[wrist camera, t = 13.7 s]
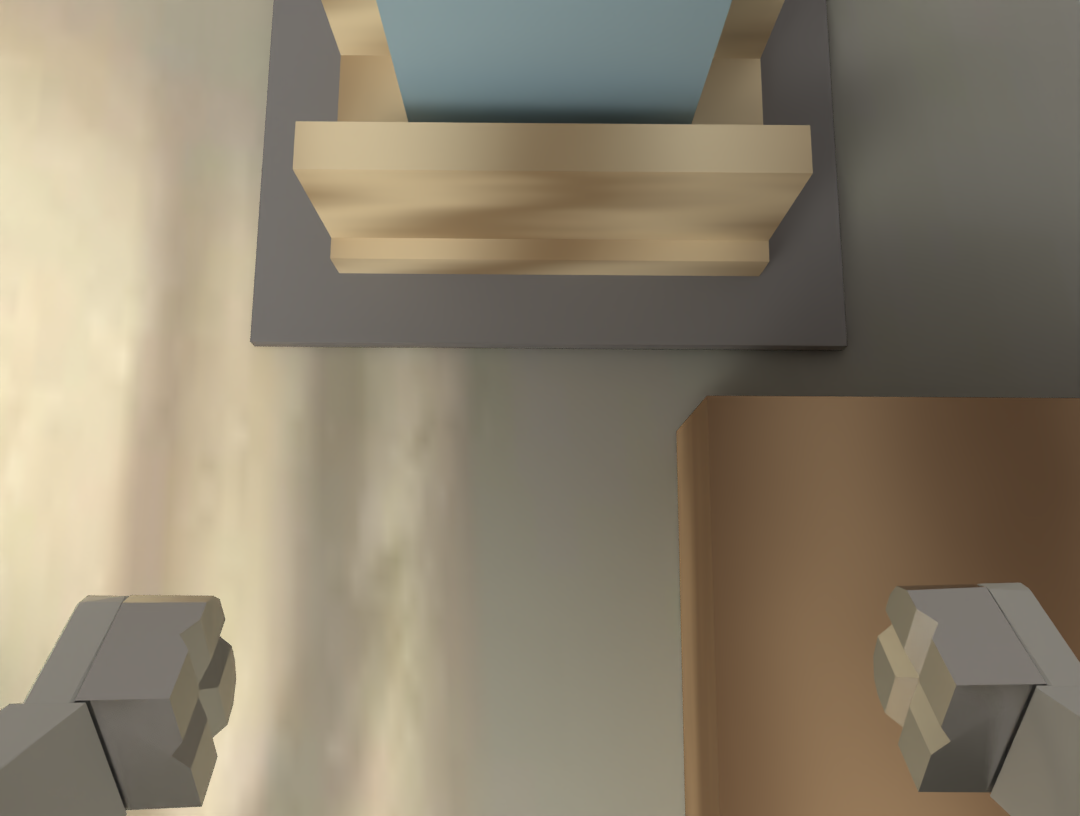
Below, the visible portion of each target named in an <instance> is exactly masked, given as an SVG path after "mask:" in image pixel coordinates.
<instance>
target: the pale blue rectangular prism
mask: <svg viewBox="0 0 1080 816" xmlns="http://www.w3.org/2000/svg"><path fill="white" fill-rule="evenodd" d="M376 2H377V6H378V9H379V13H380V17H381V21H382V24H383V28H384V32H385V36H386V39H387V43H388V47H389V51H390V55H391V58H392V62H393V66H394V70H395V73H396V77H397V81H398V85H399V88H400V92H401V96H402V100H403V103H404V107H405V111H406V115H407V119H408V122H453V123H581V124H691V123H692V120H693V117H694V114H695V111H696V108H697V105H698V102H699V99H700V96H701V93H702V90H703V87H704V84H705V81H706V78H707V75H708V72H709V69H710V66H711V63H712V60H713V57H714V54H715V51H716V48H717V45H718V42H719V39H720V36H721V33H722V30H723V26H724V23H725V20H726V17H727V14H728V11H729V8H730V5H731V2H732V0H376Z"/></svg>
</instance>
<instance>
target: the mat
mask: <svg viewBox="0 0 1080 816" xmlns="http://www.w3.org/2000/svg"><path fill="white" fill-rule="evenodd" d="M340 62H341V54H340V51H339V49H338V46H337V43H336V40H335V37H334V35H333V32H332V29H331V26H330V23H329V21H328V18H327V15H326V12H325V9H324V7H323V4H322V1H321V0H274V4H273V19H272V33H271V48H270V62H269V77H268V91H267V106H266V120H265V135H264V149H263V164H262V178H261V193H260V207H259V222H258V236H257V251H256V265H255V280H254V294H253V309H252V323H251V338H250V342H251V343H252V344H253V345H254V346H294V347H441V348H588V349H735V350H843V349H844V348H845V347H846V346H847V334H846V318H845V301H844V285H843V268H842V252H841V236H840V219H839V203H838V187H837V170H836V154H835V138H834V121H833V105H832V88H831V72H830V56H829V39H828V23H827V7H826V0H785V1H784V3H783V6H782V8H781V10H780V13H779V15H778V18H777V20H776V22H775V25H774V27H773V30H772V32H771V34H770V37H769V39H768V41H767V44H766V46H765V49H764V51H763V53H762V56H761V58H760V62H761V85H762V107H763V125H810V131H811V149H812V167H813V174H812V175H811V177H810V178H809V180H808V181H807V183H806V184H805V186H804V187H803V189H802V190H801V192H800V194H799V195H798V197H797V198H796V200H795V201H794V203H793V204H792V206H791V207H790V209H789V210H788V212H787V213H786V215H785V216H784V218H783V219H782V221H781V223H780V224H779V226H778V227H777V229H776V230H775V232H774V233H773V235H772V236H771V238H770V239H769V263H768V264H767V266H766V267H765V269H764V270H763V272H762V273H761V274H760V276H652V275H512V274H372V273H339V272H338V270H337V269H336V267H335V265H334V264H333V262H332V261H331V259H330V253H331V236H330V234H329V233H328V231H327V229H326V227H325V226H324V224H323V222H322V220H321V218H320V217H319V215H318V213H317V211H316V210H315V208H314V206H313V204H312V203H311V201H310V199H309V197H308V195H307V194H306V192H305V190H304V188H303V187H302V185H301V183H300V181H299V180H298V178H297V176H296V174H295V172H294V171H293V155H294V139H295V123H296V121H325V122H337V120H338V100H339V81H340Z"/></svg>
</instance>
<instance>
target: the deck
mask: <svg viewBox="0 0 1080 816" xmlns="http://www.w3.org/2000/svg"><path fill="white" fill-rule="evenodd" d="M676 434H677V477H678V519H679V562H680V604H681V647H682V690H683V732H684V775H685V816H1010V815H1009V814H1008V813H1007V812H1006V811H1005V810H1004V809H1003V808H1002V807H1001V806H1000V805H999V804H998V803H997V802H996V801H995V800H994V799H992V798H991V797H990V794H991V793H989V792H918V790H917V788H916V785H915V783H914V781H913V778H912V776H911V774H910V771H909V769H908V767H907V764H906V762H905V760H904V757H903V755H902V753H901V750H900V748H899V746H898V742H899V738H900V735H901V732H902V729H903V727H902V726H901V725H899V724H898V723H897V722H896V721H894V720H893V719H892V718H891V717H889V716H888V715H887V714H886V713H885V712H884V710H883V707H882V705H881V702H880V699H879V697H878V694H877V690H876V685H875V681H874V666H873V655H874V651H875V646H876V642H877V638H878V636H879V635H880V634H881V633H882V632H883V631H885V630H886V629H887V628H888V627H889V626H890V625H892V623H891V621H890V619H889V616H888V614H887V612H886V610H885V609H886V606H887V602H888V599H889V596H890V593H891V592H892V591H893V590H894V588H895V587H896V586H913V585H956V584H975V585H978V584H985V583H1022V584H1023V585H1025V586H1026V587H1028V588H1029V589H1030V590H1031V592H1032V593H1033V595H1034V596H1035V598H1036V599H1037V600H1038V602H1039V603H1040V605H1041V606H1042V608H1043V609H1044V611H1045V612H1046V614H1047V615H1048V617H1049V618H1050V619H1051V621H1052V622H1053V624H1054V625H1055V627H1056V628H1057V630H1058V631H1059V633H1060V634H1061V636H1062V637H1063V639H1064V640H1065V641H1066V643H1067V644H1068V646H1069V647H1070V649H1071V650H1072V652H1073V653H1074V655H1075V656H1076V658H1077V659H1078V661H1079V662H1080V398H986V397H834V396H706V397H705V399H704V400H703V401H702V402H701V403H700V405H699V406H698V407H697V408H696V409H695V410H694V412H693V413H692V414H691V415H690V416H689V417H688V419H687V420H686V421H685V422H684V423H683V424H682V426H681V427H680V428H679V429H678V430H677V432H676Z"/></svg>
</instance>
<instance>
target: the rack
mask: <svg viewBox="0 0 1080 816" xmlns="http://www.w3.org/2000/svg"><path fill="white" fill-rule="evenodd" d="M321 1H322V4H323V7H324V9H325V12H326V15H327V18H328V21H329V23H330V26H331V29H332V32H333V35H334V37H335V40H336V43H337V46H338V49H339V51H340V54H341V62H340V81H339V100H338V120H337V122H325V121H296V123H295V139H294V155H293V171H294V172H295V174H296V176H297V178H298V180H299V181H300V183H301V185H302V187H303V188H304V190H305V192H306V194H307V195H308V197H309V199H310V201H311V203H312V204H313V206H314V208H315V210H316V211H317V213H318V215H319V217H320V218H321V220H322V222H323V224H324V226H325V227H326V229H327V231H328V233H329V234H330V236H331V253H330V259H331V261H332V262H333V264H334V265H335V267H336V269H337V270H338V272H339V273H372V274H512V275H652V276H760V274H761V273H762V272H763V270H764V269H765V267H766V266H767V264H768V263H769V239H770V238H771V236H772V235H773V233H774V232H775V230H776V229H777V227H778V226H779V224H780V223H781V221H782V219H783V218H784V216H785V215H786V213H787V212H788V210H789V209H790V207H791V206H792V204H793V203H794V201H795V200H796V198H797V197H798V195H799V194H800V192H801V190H802V189H803V187H804V186H805V184H806V183H807V181H808V180H809V178H810V177H811V175H812V174H813V167H812V149H811V131H810V125H763V107H762V85H761V62H760V58H761V56H762V53H763V51H764V49H765V46H766V44H767V41H768V39H769V37H770V34H771V32H772V30H773V27H774V25H775V22H776V20H777V18H778V15H779V13H780V10H781V8H782V6H783V3H784V1H785V0H732V2H731V5H730V8H729V11H728V14H727V17H726V20H725V23H724V26H723V30H722V33H721V36H720V39H719V42H718V45H717V48H716V51H715V54H714V57H713V60H712V63H711V66H710V69H709V72H708V75H707V78H706V81H705V84H704V87H703V90H702V93H701V96H700V99H699V102H698V105H697V108H696V111H695V114H694V117H693V120H692V123H691V124H581V123H453V122H408V119H407V115H406V111H405V107H404V103H403V100H402V96H401V92H400V88H399V85H398V81H397V77H396V73H395V70H394V66H393V62H392V58H391V55H390V51H389V47H388V43H387V39H386V36H385V32H384V28H383V24H382V21H381V17H380V13H379V9H378V6H377V2H376V0H321Z"/></svg>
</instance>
